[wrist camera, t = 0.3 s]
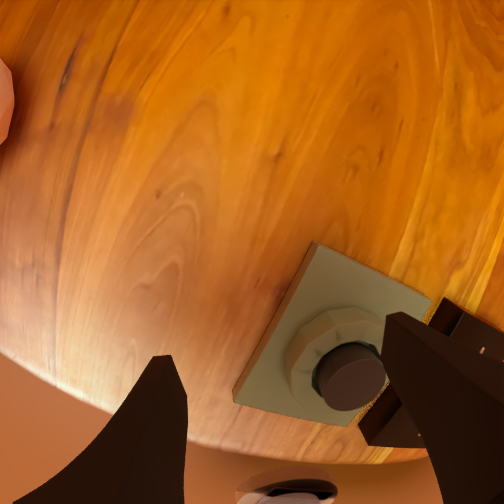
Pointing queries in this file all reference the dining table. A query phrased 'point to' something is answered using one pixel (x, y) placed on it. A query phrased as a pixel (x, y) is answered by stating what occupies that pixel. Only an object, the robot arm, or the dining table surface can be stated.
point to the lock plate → (389, 404)
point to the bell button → (350, 377)
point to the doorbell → (321, 333)
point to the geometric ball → (5, 100)
